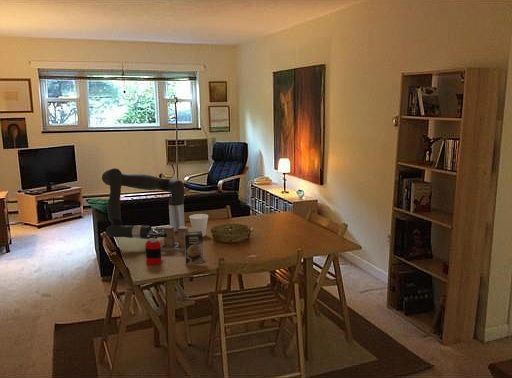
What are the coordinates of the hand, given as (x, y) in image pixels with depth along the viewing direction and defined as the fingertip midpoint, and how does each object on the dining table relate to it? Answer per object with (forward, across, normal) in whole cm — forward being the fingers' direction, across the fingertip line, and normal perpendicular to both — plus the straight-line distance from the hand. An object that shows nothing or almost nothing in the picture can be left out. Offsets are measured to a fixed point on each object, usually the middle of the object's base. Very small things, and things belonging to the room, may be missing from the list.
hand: (169, 233), depth 262 cm
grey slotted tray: (+4, 0, +10) cm, 11 cm away
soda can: (-1, -21, +10) cm, 23 cm away
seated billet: (+8, 0, +8) cm, 12 cm away
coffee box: (+20, -18, +10) cm, 29 cm away
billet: (0, 0, +8) cm, 9 cm away
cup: (+8, +30, +10) cm, 33 cm away
